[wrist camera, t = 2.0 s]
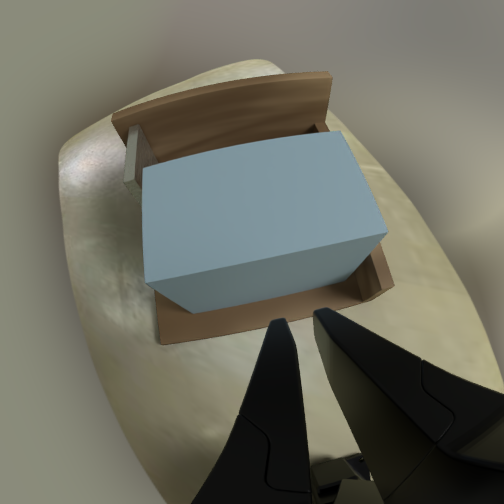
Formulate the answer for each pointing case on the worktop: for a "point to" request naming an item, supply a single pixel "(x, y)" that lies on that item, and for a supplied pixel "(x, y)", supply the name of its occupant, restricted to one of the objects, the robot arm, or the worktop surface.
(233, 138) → the shelf
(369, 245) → the light blue block
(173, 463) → the worktop surface
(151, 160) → the bookend
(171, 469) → the worktop surface
